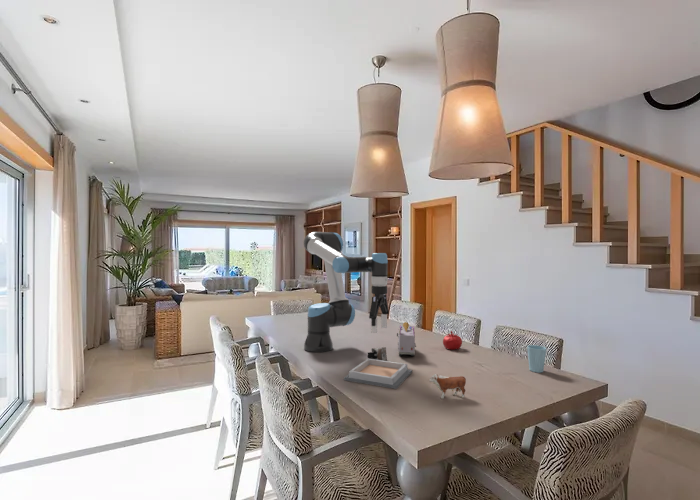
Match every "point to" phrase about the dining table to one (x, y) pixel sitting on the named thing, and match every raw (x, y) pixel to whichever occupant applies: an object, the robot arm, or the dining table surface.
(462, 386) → the bull figurine
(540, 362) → the cup
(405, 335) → the toy vehicle
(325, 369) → the dining table surface
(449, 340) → the pomegranate
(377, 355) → the caster wheel
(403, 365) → the tray
